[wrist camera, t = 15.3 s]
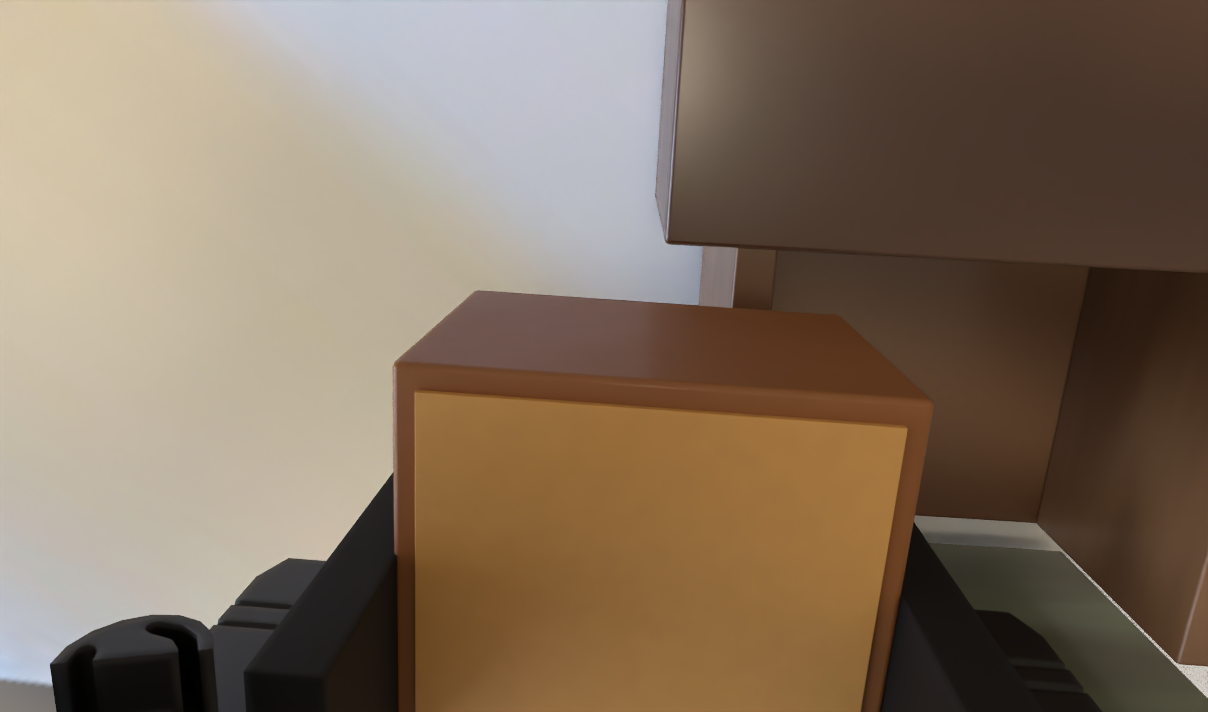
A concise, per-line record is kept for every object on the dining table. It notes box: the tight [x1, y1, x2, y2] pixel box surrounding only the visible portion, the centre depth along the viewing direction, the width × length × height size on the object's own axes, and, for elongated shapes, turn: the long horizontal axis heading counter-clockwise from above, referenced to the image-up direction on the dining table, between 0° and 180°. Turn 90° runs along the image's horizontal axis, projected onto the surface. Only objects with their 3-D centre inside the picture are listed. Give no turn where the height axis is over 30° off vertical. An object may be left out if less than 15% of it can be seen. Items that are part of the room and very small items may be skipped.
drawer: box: [699, 246, 1208, 712], centre depth 20 cm, size 23×13×8 cm, turn 177°
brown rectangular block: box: [393, 290, 934, 712], centre depth 12 cm, size 8×6×5 cm
